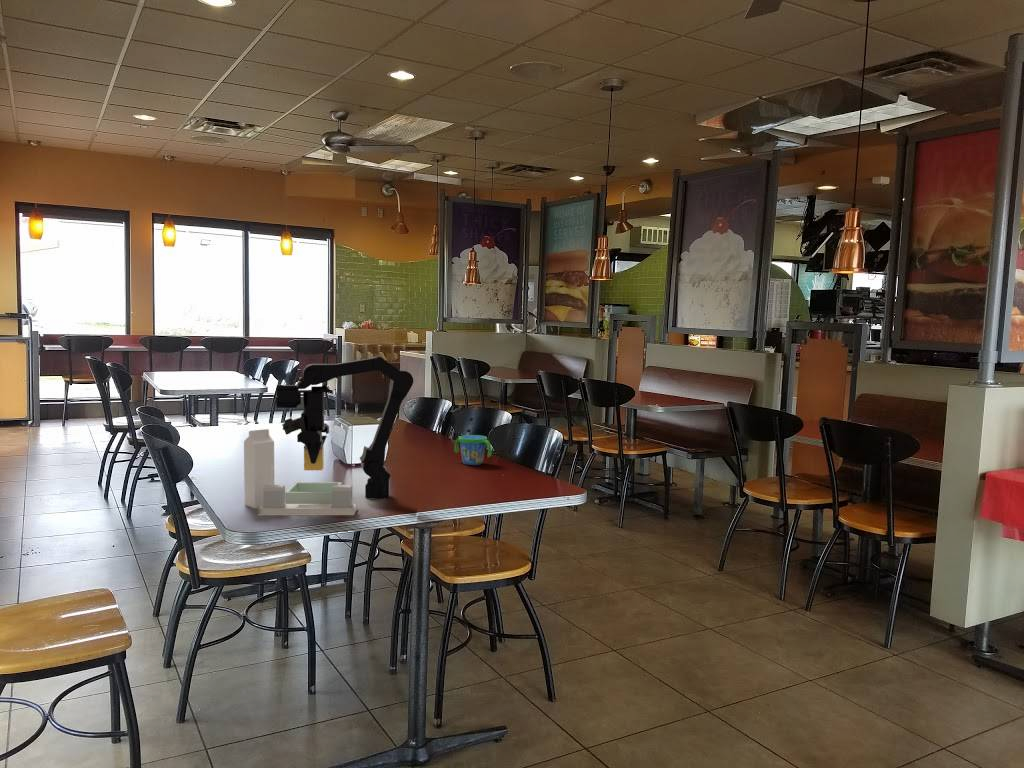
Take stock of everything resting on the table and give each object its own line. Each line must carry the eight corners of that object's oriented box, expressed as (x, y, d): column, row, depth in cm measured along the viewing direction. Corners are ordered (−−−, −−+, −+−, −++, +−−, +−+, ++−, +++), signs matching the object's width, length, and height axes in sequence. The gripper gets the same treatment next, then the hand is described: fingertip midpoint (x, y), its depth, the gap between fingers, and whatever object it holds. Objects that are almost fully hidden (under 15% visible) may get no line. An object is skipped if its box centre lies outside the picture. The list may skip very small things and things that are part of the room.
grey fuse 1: (285, 510, 205) (284, 484, 205) (282, 513, 202) (282, 487, 202) (266, 510, 205) (266, 484, 204) (263, 513, 202) (263, 487, 201)
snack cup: (497, 464, 282) (498, 437, 281) (479, 468, 274) (480, 440, 273) (466, 459, 292) (466, 433, 291) (447, 463, 283) (447, 436, 282)
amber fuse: (323, 468, 218) (323, 444, 218) (322, 470, 215) (321, 445, 215) (305, 468, 218) (305, 444, 217) (304, 470, 215) (303, 446, 214)
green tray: (341, 497, 226) (341, 482, 225) (334, 508, 212) (334, 492, 212) (295, 497, 225) (295, 482, 224) (285, 508, 211) (285, 492, 211)
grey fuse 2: (352, 510, 206) (352, 484, 206) (350, 513, 203) (350, 487, 203) (333, 510, 206) (333, 484, 206) (331, 513, 203) (331, 487, 203)
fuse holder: (357, 512, 209) (357, 503, 208) (353, 518, 202) (353, 509, 201) (264, 512, 207) (263, 503, 206) (257, 518, 200) (257, 509, 200)
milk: (274, 508, 211) (274, 430, 209) (254, 512, 207) (254, 432, 205) (264, 504, 215) (263, 427, 214) (243, 507, 211) (243, 429, 209)
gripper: (290, 404, 224) (291, 456, 225) (277, 412, 205) (278, 468, 206) (329, 404, 225) (329, 456, 226) (319, 412, 206) (320, 468, 207)
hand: (314, 462), depth 216 cm, fingers closed on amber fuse, 3 cm apart
